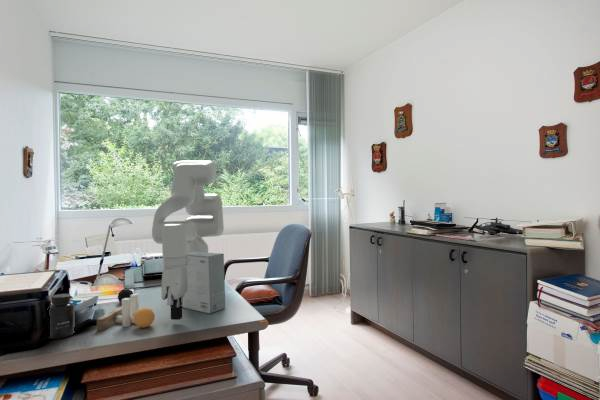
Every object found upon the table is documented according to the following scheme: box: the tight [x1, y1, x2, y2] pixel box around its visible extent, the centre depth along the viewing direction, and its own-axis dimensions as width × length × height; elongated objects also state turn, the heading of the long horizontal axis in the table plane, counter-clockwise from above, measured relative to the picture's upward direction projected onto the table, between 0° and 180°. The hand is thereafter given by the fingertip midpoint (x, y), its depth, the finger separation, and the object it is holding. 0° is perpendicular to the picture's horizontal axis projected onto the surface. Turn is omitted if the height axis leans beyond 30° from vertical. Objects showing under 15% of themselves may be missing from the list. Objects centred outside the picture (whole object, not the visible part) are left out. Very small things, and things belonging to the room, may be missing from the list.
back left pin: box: [121, 298, 132, 328], centre depth 118 cm, size 2×2×8 cm
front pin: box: [115, 316, 135, 324], centre depth 121 cm, size 2×2×8 cm
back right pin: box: [130, 293, 139, 316], centre depth 123 cm, size 2×2×8 cm
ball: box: [134, 307, 155, 328], centre depth 117 cm, size 6×6×6 cm
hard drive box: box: [181, 251, 226, 314], centre depth 135 cm, size 16×8×20 cm, turn 56°
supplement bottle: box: [49, 293, 75, 340], centre depth 111 cm, size 7×7×12 cm
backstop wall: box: [96, 305, 122, 332], centre depth 121 cm, size 14×2×4 cm, turn 175°
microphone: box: [117, 288, 134, 304], centre depth 151 cm, size 6×6×20 cm
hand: (176, 318), depth 120 cm, fingers closed
